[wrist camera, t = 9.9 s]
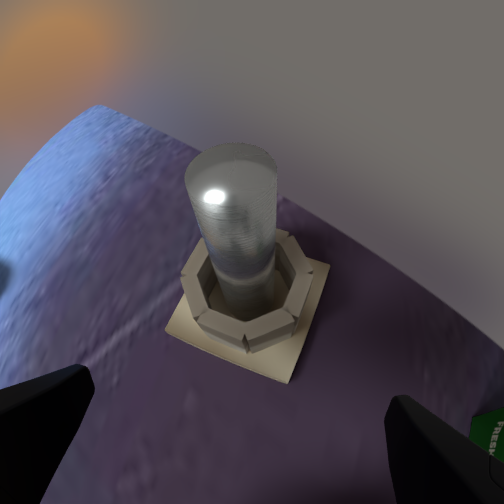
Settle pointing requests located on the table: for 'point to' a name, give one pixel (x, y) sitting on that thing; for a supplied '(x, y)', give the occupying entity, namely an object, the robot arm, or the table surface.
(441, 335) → the table surface
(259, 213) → the grey glossy cylinder
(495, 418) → the milk carton
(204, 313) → the cup bracket
